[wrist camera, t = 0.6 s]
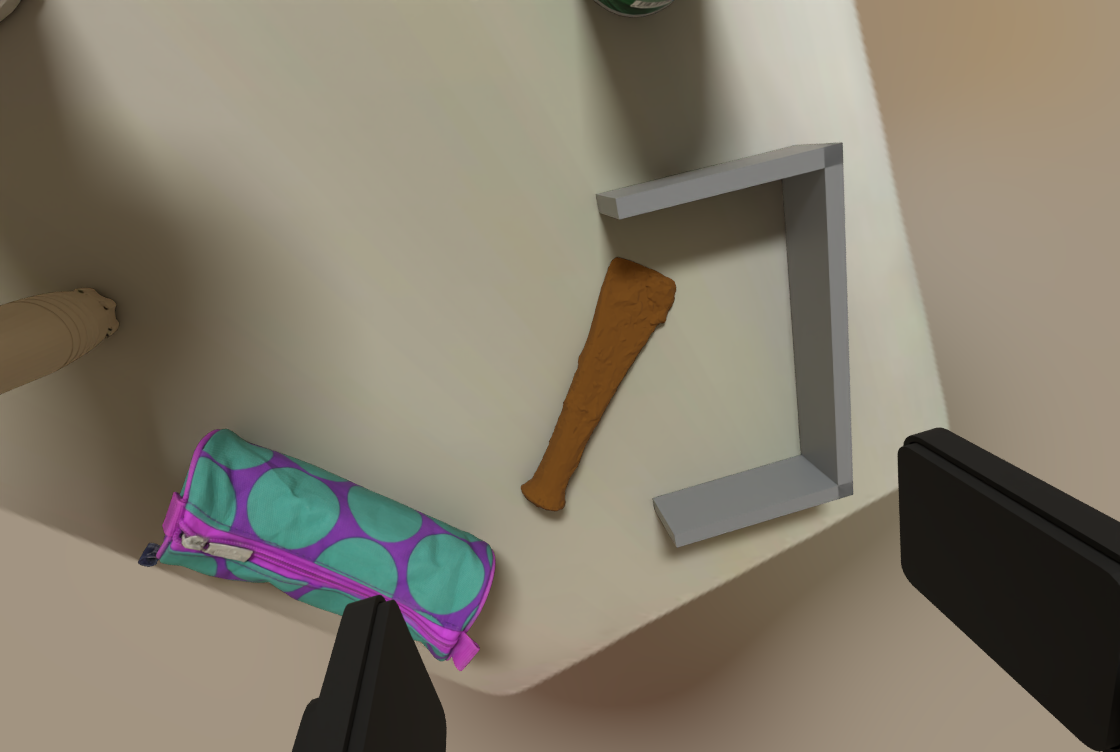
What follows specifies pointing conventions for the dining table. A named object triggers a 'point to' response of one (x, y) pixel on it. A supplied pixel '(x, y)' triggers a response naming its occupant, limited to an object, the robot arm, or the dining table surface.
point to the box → (816, 338)
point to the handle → (50, 333)
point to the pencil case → (324, 541)
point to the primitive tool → (601, 370)
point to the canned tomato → (634, 6)
